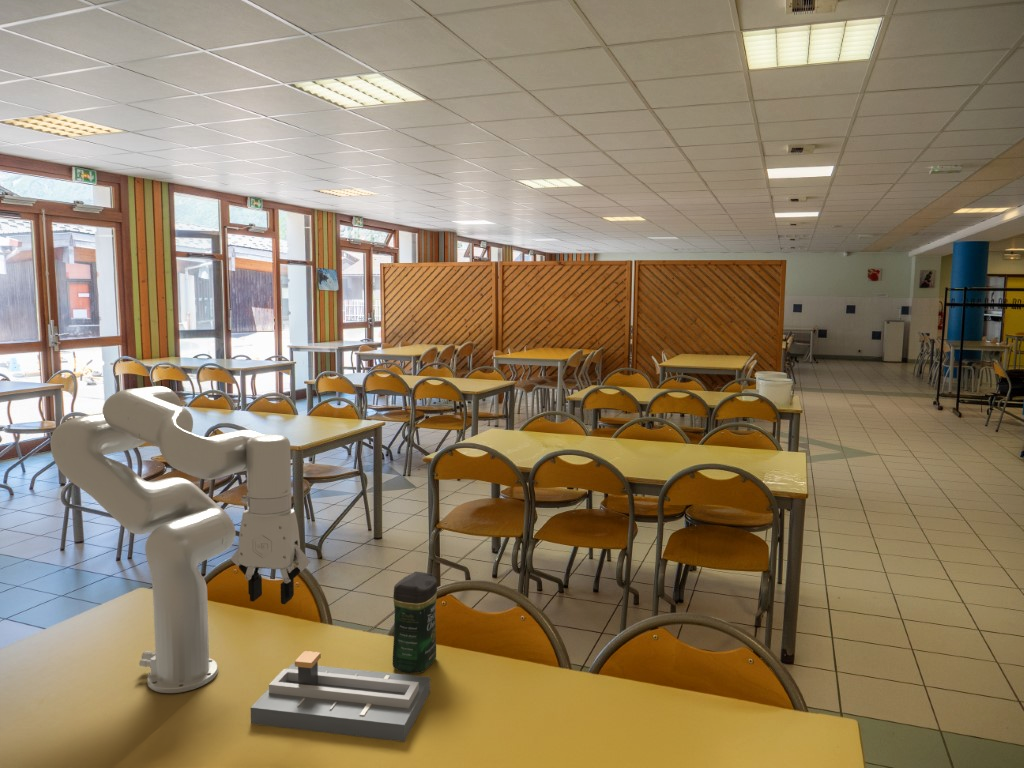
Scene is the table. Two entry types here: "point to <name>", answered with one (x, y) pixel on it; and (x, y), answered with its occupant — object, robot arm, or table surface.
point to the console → (344, 702)
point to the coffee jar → (415, 622)
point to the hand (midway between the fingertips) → (271, 598)
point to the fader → (308, 668)
